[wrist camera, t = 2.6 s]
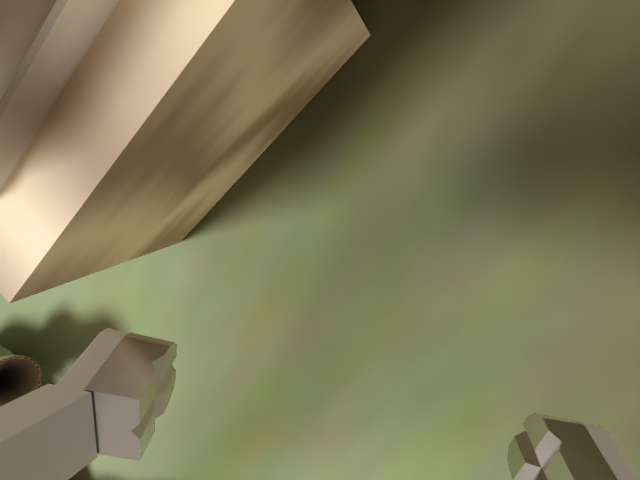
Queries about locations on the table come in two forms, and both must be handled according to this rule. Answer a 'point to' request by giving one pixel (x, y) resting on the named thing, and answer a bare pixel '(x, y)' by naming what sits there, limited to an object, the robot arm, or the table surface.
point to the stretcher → (17, 376)
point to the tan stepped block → (143, 118)
